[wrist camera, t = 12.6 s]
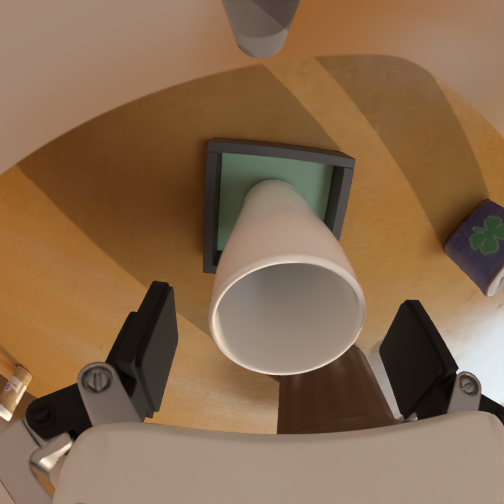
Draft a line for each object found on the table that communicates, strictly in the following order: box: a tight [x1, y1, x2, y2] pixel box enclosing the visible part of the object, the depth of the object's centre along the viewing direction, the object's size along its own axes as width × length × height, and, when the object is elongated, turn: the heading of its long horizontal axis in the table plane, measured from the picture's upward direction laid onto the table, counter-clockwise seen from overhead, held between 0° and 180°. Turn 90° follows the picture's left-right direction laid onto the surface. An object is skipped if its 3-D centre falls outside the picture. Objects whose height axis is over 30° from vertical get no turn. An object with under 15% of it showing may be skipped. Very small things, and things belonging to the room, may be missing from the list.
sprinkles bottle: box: [0, 366, 32, 421], centre depth 37 cm, size 5×5×13 cm
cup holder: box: [203, 138, 355, 274], centre depth 24 cm, size 11×11×4 cm
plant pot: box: [277, 345, 400, 434], centre depth 28 cm, size 16×16×16 cm
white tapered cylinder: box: [208, 179, 366, 375], centre depth 18 cm, size 7×7×15 cm
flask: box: [444, 199, 504, 297], centre depth 20 cm, size 9×3×11 cm, turn 135°
